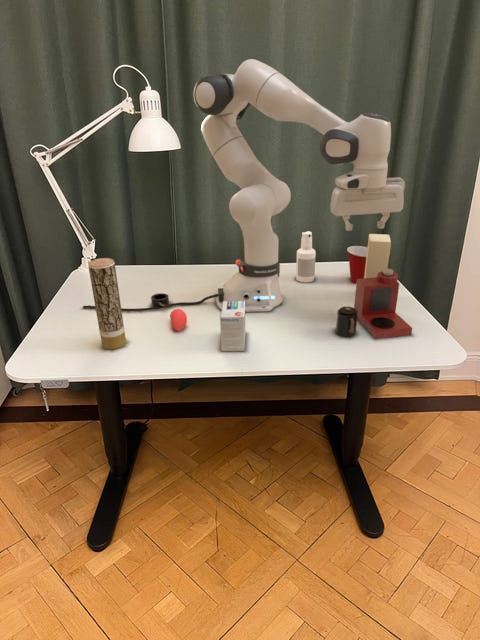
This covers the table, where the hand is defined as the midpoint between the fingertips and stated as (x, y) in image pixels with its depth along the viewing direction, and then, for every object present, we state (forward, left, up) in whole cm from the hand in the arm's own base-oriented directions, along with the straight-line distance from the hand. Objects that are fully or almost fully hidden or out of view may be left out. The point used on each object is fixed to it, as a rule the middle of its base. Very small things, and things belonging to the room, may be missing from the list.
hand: (364, 229), depth 136 cm
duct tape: (-59, +26, -28) cm, 70 cm away
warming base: (+6, -7, -29) cm, 31 cm away
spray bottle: (-5, +37, -29) cm, 47 cm away
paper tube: (-73, +1, -29) cm, 79 cm away
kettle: (-6, -6, -29) cm, 30 cm away
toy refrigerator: (+13, +16, -29) cm, 36 cm away
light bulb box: (-39, -5, -29) cm, 49 cm away
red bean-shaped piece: (-54, +9, -29) cm, 62 cm away
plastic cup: (+14, +31, -29) cm, 45 cm away
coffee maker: (+6, +2, -29) cm, 30 cm away
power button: (+10, +2, -15) cm, 18 cm away
